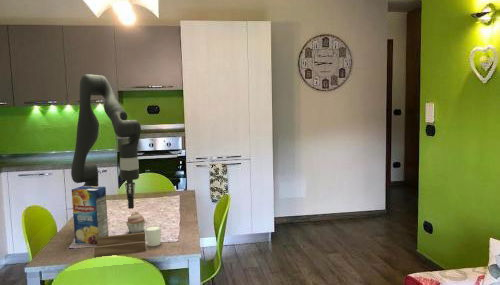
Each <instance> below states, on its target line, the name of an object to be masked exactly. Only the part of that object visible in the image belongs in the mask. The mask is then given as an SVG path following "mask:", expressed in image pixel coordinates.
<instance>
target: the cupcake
mask: <svg viewBox="0 0 500 285" xmlns="http://www.w3.org/2000/svg"><path fill="white" fill-rule="evenodd" d="M146 223H147V220H145V217H144V216H143V215H142V214H141V213H140V212H138V211H137V210H135V211H134V212H133V211H132V213H131V214H130V215H129V216H128V217H127V221H125V224H126V226H127V229H128V231H129V232H128V233H129V234H133V233H143V231H144V229H145V228H144V227H145V224H146Z"/></svg>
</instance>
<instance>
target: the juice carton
mask: <svg viewBox="0 0 500 285" xmlns="http://www.w3.org/2000/svg"><path fill="white" fill-rule="evenodd" d="M71 199H72V215H73V228H74V229H73V230H74V242H75V243H74V244H84V245H95V246H97V237H104V236H109V224H108V223H109V222H108V221H109V220H108V209H107V208H108V205H107V203H108V202H107V188H106V186H98V187H97V186H83V185H82V186H78V187H75V188H72V189H71Z"/></svg>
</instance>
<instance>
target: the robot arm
mask: <svg viewBox="0 0 500 285" xmlns="http://www.w3.org/2000/svg"><path fill="white" fill-rule="evenodd" d="M91 96H98V97H99V96H101V97H103V98H104V102H103V109H104V112H105V114H106V115H107V117H108V118H109V120H110V121H111V124H112V128H113V131H114V134H115V135H116V136H117V137H119V138H128V139H127V141H126V142H122V143H121V144H119V145H120V146H119V174H120V175H119V176H120V180H122V181H126V182H125V183H124V184H125V185H124V189H125V195H126V196H127V197H126V199H127V207H128V209H131V210H133V209H134V207H135V206H134V205H135V203H134V202H135V200H134V199H135V192H136V189H135V188H136V182H134V180H138V179H139V178H140V167H139V164H140V163H139V157H138V154H139V152H138V146H139V141H140V137H141V133H142V127H141V124H140V122H139V121H138V120H136V119H128V113H127V112H126V111H125V109H124V108H123V106H122V105H121V104H120V102H119V101H118V99H117V96H116V95H115V93H114V90H113V89H112V86H111V84H110V82H109V81H108V79H107V78H106V76H104V75H101V74H100V75H99V74H88V73H87V74H83V75H82V76H81V78H80V82H79V105H78V107H79V108H78V109H79V110H78V120H77V127H76V139H75V146H74V148H75V149H74V152H73V153H74V154H73V159H72V164H71V170H70V174H71V175H70V176H71V179H72V181H73V182H74V183H75V184H81V183H84V184H83V185H82V186H97V187H99V170H98V166H97V164H96V163H95V162H94V161H87V160H86V159H87V157H88V154H89V152H90V151H91V149H93V147H94V146H95V144H96V142H97V140H98V136H99V130H100V124H99V120H98V117H97V116H96V114H95V113H94V110H93V108H92V102H91V101H92V100H91V98H92V97H91ZM127 119H128V120H127Z"/></svg>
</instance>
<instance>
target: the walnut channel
mask: <svg viewBox="0 0 500 285" xmlns="http://www.w3.org/2000/svg"><path fill="white" fill-rule="evenodd" d="M146 246H147V244H146V234H145V231H144V232H143V231H142V232H140V233H125V234H116V235H108V236H104V237H97V245H95V246H94V247H93V254H94V256H93V257H99V256H100V257H101V256H108V255H118V254H119V255H120V254H127V253H134V252H142V251H144V252H145V251H147V247H146Z"/></svg>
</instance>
